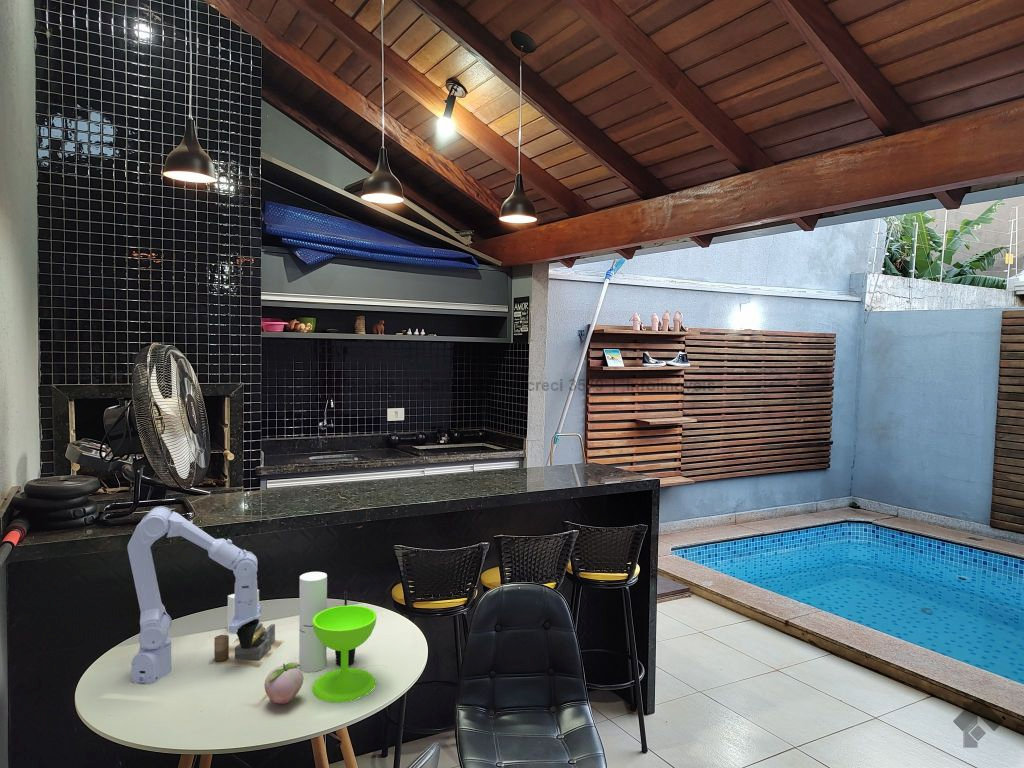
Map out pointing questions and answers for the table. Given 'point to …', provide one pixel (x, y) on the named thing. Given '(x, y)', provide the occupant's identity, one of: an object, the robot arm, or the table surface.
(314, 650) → the cylindrical container
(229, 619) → the base with upright slab
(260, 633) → the pin
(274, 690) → the decorative fruit
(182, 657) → the table surface
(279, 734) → the table surface
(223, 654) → the peg
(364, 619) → the wineglass
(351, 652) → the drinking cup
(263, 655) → the dock
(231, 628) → the robot arm
